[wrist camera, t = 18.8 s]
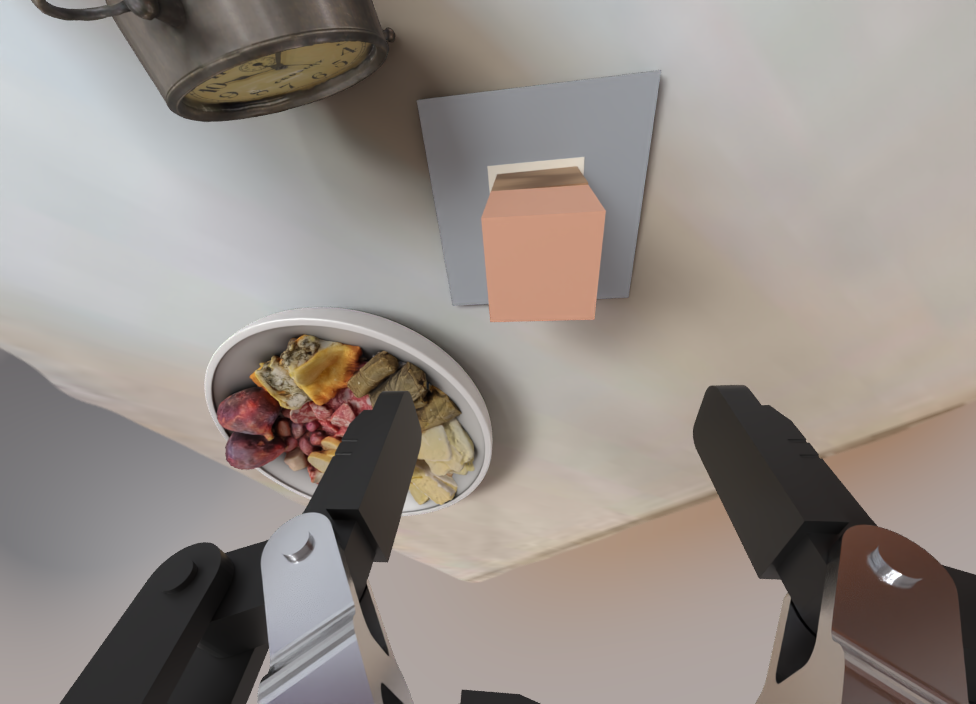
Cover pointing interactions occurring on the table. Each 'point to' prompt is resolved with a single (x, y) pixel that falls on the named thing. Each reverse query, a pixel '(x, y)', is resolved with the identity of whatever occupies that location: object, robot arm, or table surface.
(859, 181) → the table surface
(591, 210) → the terracotta block
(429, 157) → the grey square plate
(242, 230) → the table surface
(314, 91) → the alarm clock
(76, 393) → the table surface
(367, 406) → the bowl
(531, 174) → the walnut block
